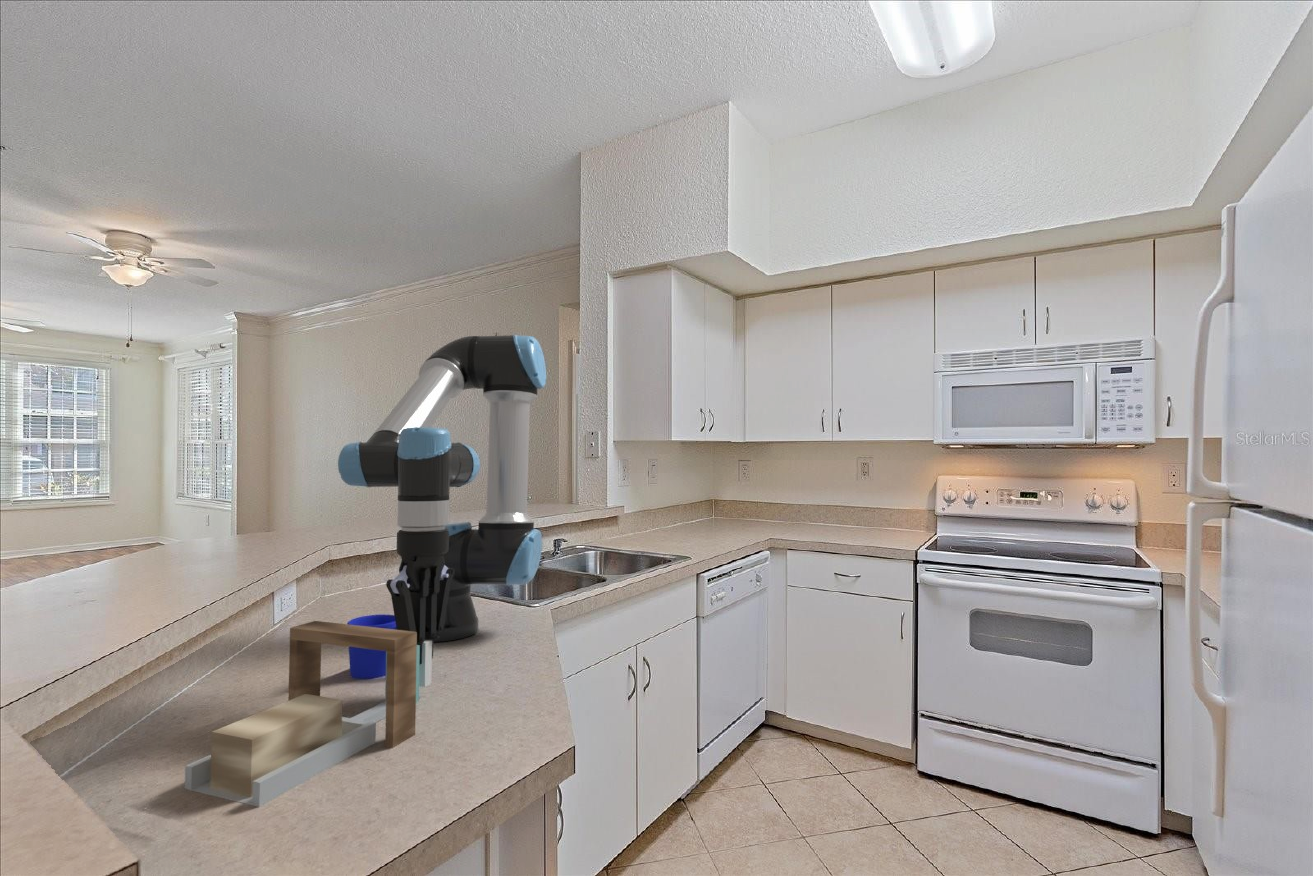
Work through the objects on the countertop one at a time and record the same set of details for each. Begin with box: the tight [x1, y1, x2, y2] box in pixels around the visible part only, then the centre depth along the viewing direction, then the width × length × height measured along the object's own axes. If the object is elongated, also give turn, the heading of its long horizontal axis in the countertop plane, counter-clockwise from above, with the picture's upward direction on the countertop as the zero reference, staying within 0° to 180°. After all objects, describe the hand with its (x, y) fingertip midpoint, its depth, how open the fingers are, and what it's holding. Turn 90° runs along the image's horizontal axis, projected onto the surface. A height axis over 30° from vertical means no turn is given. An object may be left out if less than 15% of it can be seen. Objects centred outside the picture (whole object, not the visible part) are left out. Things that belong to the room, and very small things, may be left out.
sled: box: [184, 645, 420, 808], centre depth 80 cm, size 28×11×10 cm, turn 161°
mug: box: [346, 613, 397, 680], centre depth 107 cm, size 8×12×10 cm
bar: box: [210, 694, 343, 797], centre depth 74 cm, size 12×6×6 cm, turn 161°
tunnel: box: [287, 620, 417, 749], centre depth 84 cm, size 4×17×14 cm, turn 71°
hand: (420, 684), depth 96 cm, fingers closed
